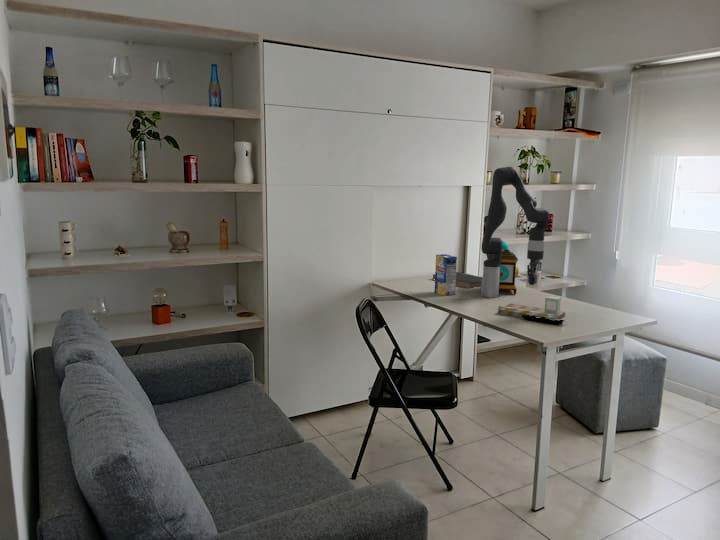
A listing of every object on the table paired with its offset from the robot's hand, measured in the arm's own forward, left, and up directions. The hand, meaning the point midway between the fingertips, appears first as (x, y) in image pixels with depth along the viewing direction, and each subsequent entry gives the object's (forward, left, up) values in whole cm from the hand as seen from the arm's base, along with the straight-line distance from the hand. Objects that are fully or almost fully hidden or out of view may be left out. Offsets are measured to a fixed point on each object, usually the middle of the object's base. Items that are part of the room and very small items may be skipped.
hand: (533, 283), depth 273 cm
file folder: (-63, +54, -16) cm, 85 cm away
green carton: (+10, 0, -14) cm, 17 cm away
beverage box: (-56, +15, -16) cm, 60 cm away
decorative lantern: (-34, +42, -16) cm, 56 cm away
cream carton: (0, 0, -2) cm, 2 cm away
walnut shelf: (0, 0, -16) cm, 16 cm away
